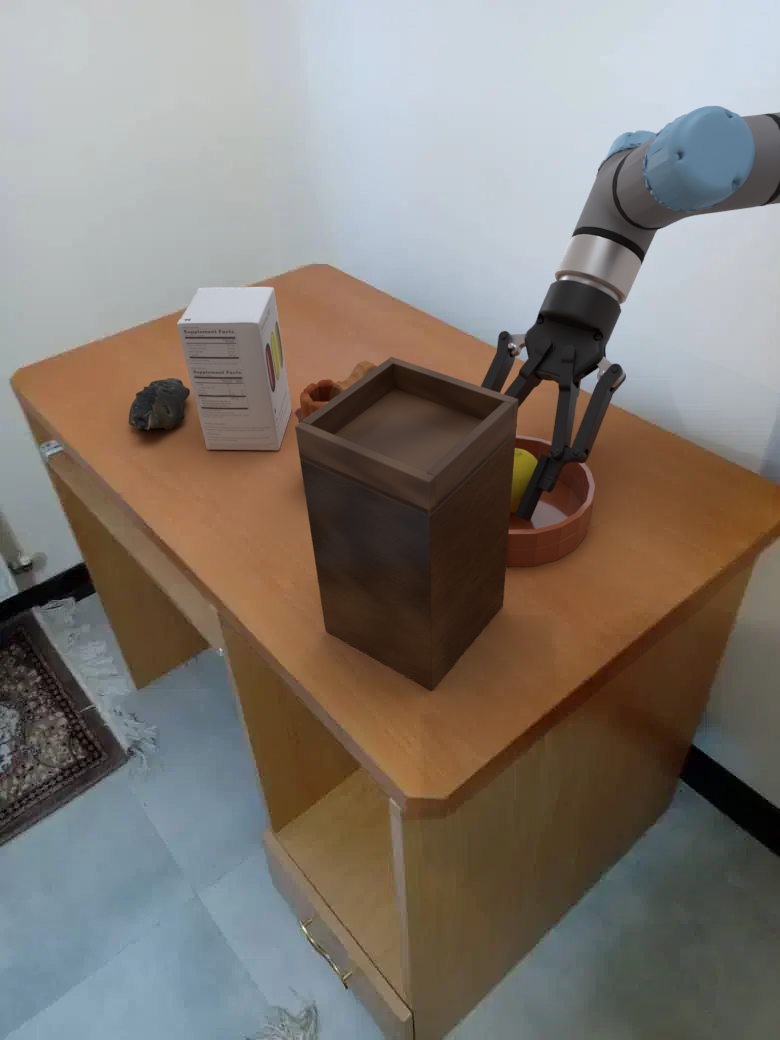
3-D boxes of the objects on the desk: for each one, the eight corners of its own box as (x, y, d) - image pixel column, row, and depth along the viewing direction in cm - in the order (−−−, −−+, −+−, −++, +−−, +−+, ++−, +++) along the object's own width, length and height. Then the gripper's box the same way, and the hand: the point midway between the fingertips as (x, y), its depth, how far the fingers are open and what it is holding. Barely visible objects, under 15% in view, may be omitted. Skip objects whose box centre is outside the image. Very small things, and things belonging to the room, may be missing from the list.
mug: (328, 511, 86) (316, 413, 78) (289, 484, 90) (274, 388, 82) (409, 461, 92) (406, 365, 84) (369, 437, 96) (363, 344, 88)
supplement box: (280, 452, 95) (258, 324, 84) (205, 451, 96) (173, 324, 84) (293, 408, 102) (275, 284, 91) (223, 407, 103) (196, 285, 92)
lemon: (478, 500, 86) (480, 440, 81) (524, 489, 87) (530, 429, 82) (498, 533, 82) (502, 472, 77) (547, 520, 83) (554, 459, 78)
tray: (516, 431, 62) (518, 399, 60) (429, 516, 55) (429, 482, 53) (392, 387, 67) (391, 356, 65) (299, 458, 60) (294, 426, 58)
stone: (201, 388, 107) (193, 352, 103) (177, 444, 97) (167, 407, 93) (152, 388, 107) (142, 353, 104) (122, 445, 97) (111, 408, 94)
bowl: (615, 499, 86) (621, 466, 83) (543, 589, 76) (547, 556, 73) (486, 451, 93) (487, 419, 90) (406, 527, 84) (405, 494, 81)
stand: (503, 605, 75) (516, 431, 62) (431, 691, 68) (429, 516, 55) (400, 556, 80) (392, 387, 67) (325, 631, 73) (299, 458, 60)
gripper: (682, 330, 78) (587, 546, 79) (517, 287, 87) (434, 482, 88) (672, 301, 71) (569, 537, 72) (495, 257, 80) (405, 469, 81)
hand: (495, 506), depth 80 cm, fingers closed on lemon, 5 cm apart
